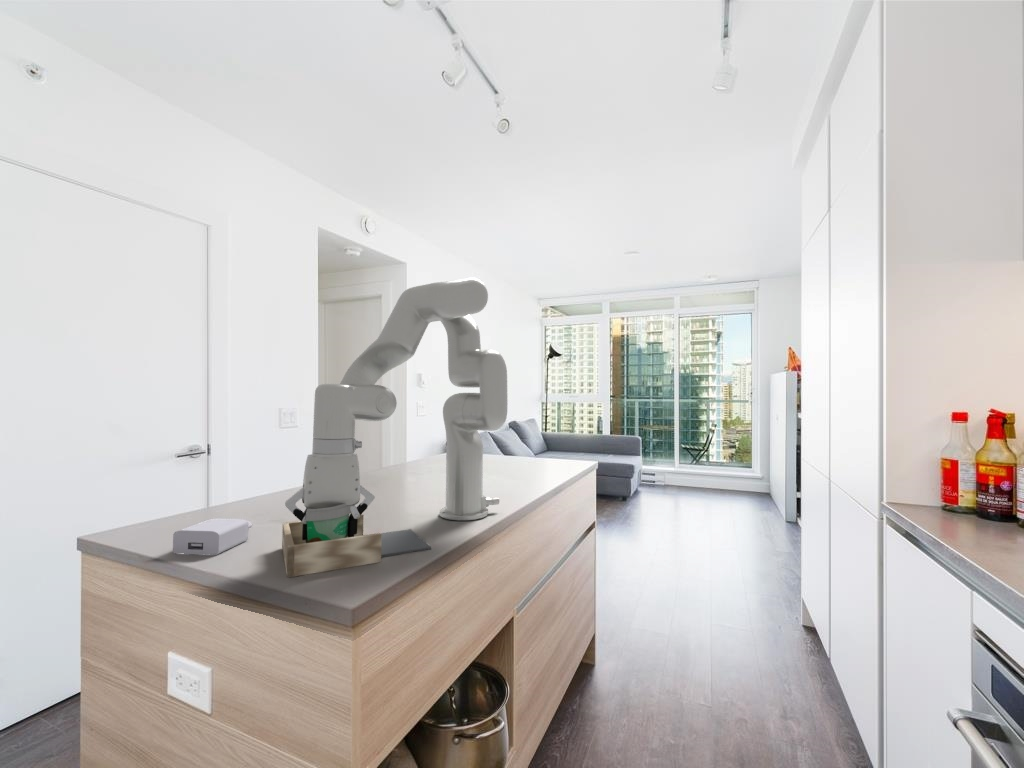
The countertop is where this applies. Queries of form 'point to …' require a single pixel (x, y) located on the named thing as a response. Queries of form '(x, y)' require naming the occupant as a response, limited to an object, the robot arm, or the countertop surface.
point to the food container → (327, 523)
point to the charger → (211, 536)
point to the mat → (401, 542)
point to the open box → (327, 550)
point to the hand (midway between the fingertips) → (329, 540)
